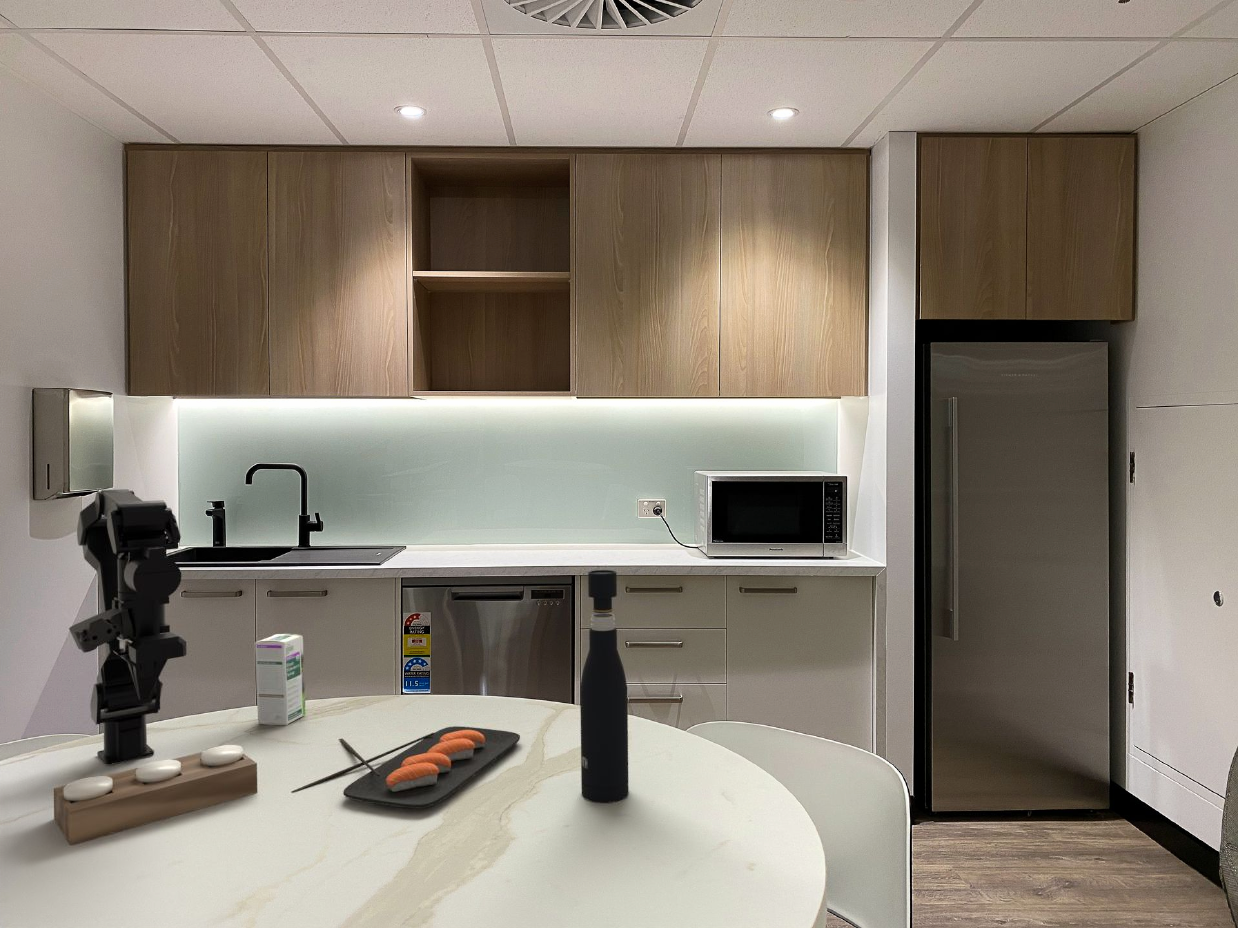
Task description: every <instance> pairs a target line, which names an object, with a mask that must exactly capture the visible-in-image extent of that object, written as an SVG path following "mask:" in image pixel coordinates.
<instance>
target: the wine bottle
mask: <svg viewBox="0 0 1238 928" xmlns="http://www.w3.org/2000/svg"><path fill="white" fill-rule="evenodd" d="M617 577H618V576H617V571H616V570H611V569H610V570H609V569H597V570H591V571H588V572H587V579H588V580H587V583H588V585H587V586H588V587H587V591H588V593H587V594H588V597H589V598H593V599H592V601H593V602H592V603H593V608H592V612H593V613H594V614H591V618H590V621H591V623H590V626H591V628H589V630H588V636H589V637H588V638H589V645H588V646H589V648H588V649H589V650H588V653H587V655H586V659H585V660H584V661H585V662H584V665H583V669H582V672H581V673H582V674H581V680H580V684H579V685H580V687H579V692H580V693H579V696H580V700H579V701H580V702H579V703H580V705H579V706H580V707H579V708H580V711H579V712H580V767H581V768H580V773H581V774H580V775H581V776H580V778H581V783H580V785H581V796H582V797H583V798H584V799H586V800H588V801H590V802H593V803H602V804H606V803H607V804H608V803H613V802H614V803H615V802H618V801H621V800H624V799H625V798H627V796H628V795H629V792H630V791H629V723H628V720H629V717H628V712H629V711H628V705H629V704H628V683H627V678H626V674H625V673H626V672H625V669H624V665H623V662H622V659H621V656H620V653H619V651H618V630H617V628H616V627H615V626H616V622H615V621H616V618H615V614H613V613H611V612H613V601H612V600H613V599H612V598H616V597H617V595H618V593H617V591H618V590H617V588H618V585H617V581H618V579H617Z"/></svg>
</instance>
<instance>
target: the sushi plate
mask: <svg viewBox="0 0 1238 928" xmlns="http://www.w3.org/2000/svg"><path fill="white" fill-rule="evenodd" d="M520 739H521V736H520V734H519V733H517V732H512V731H507V730H501V729H500V730H499V729H490V728H483V727H482V728H481V727H473V726H456V725H455V726H454V725H453V726H447V727H445V728H442V729H438V730H437V731H436V732H432V733H429V734H427V735H424V736H421V737H419V738H417V739H414V740H412V741H409V742H407V743H405V744H402V745H400V746H398V747H396V748H393V749H391V750H388V751H386V752H383V753H380V754H378V755H376V756H373V757H372V758H369V759H367V760H365V759H364V758H363V757H362V756H361V755H360V754H359V753H358V752H357V751H356V750H355V749H354V748H353V747H352V746H351V745H350V744H349V743H348V742H347V741H346V740H345V739H343V738H338V740H339V742H340V743H341V745H343V747H344V748H345V750H347V751H348V752H349V753H350V754H352V755H353V756H354V757H355V758H357V759H358V760H359V763H357V764H353V765H352V766H349V767H346V768H344V769H341V770H340V771H337V772H335V773H332V774H330V775H328V776H325V777H322V778H320V779H317V780H316V781H313V782H311V783H309V784H306V785H304V786H301V787H298V788H297V789H294V790H291V791H290V793H292V794H293V793H297V792H301V791H302V790H306V789H308V788H312V787H314V786H318V785H320V784H322V783H326V782H329V781H331V780H334V779H336V778H338V777H341V776H343V775H345V774H347V773H349V772H352V771H354V770H356V769H359V768H361V767H363V766H366V767H367V768H368V769H369V772H367V773H366V774H363V775H362V776H361V777H359V778H358V779H356V780H354V781H352V782H351V783H350V784H348V785H347V786H346V787H345V788H344V789H343V793H342V794H343V795H344V797H346V798H347V799H350V800H355V801H359V802H365V803H372V804H378V805H385V806H392V807H399V808H408V809H409V808H410V809H422V808H428V807H433V806H434V805H436V804H438V803H440V802H442V801H443V800H445V799H446V798H447V797H449V796H450V795H452V793H454V792H455V791H457V790H459V788H461V787H462V786H464V785H465V784H466V783H468V782H469V781H470V780H471V779H473V778H474V777H476V775H477V774H479V773H480V772H482V771H483V770H485V768H487V767H488V766H489V765H491V764H492V763H493V762H495V761H496V760H497V759H499V758H500V757H501V756H503V755H504V754H505V753H507V752H508V751H510V749H512V748H513V747H514V746H516V745H517V744H518V743H519V741H520ZM408 746H409V747H408ZM407 747H408V748H407ZM404 748H406V749H405V750H403V751H401V752H400V753H398V754H397V755H395V756H394V757H391V758H390V759H389V760H387V761H385V762H384V763H382V764H380V765H379V766H377V767H376V768H374V767H372V766H371V764H370V763H372V762H374V761H376V760H378V759H381V758H383V757H386V756H389V755H390V754H393V753H394V752H395V753H396V752H397V751H399V750H401V749H404Z"/></svg>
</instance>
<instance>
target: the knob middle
mask: <svg viewBox="0 0 1238 928" xmlns="http://www.w3.org/2000/svg"><path fill="white" fill-rule="evenodd" d="M136 768H137V770H136V780H137V781H139V782H143V784H144V785H146V784H150V783H154V782H158V781H163V780H167V779H170V778H173V777H175V776H177V775H178V774H179V773H180V772H181V763H180V762H179V761H177V760H172V759H164V760H155V761H152V762H148V763H146V764H143V765H141V766H139V768H138V767H136Z"/></svg>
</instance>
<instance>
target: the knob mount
mask: <svg viewBox="0 0 1238 928" xmlns="http://www.w3.org/2000/svg"><path fill="white" fill-rule="evenodd" d="M203 752H204V751H202V752H197V753H193V754H190V755H189V754H188V755H185V756H181V757H175V758H173V759H172V758H171V760H177V761H179V762H180V763H181V772H180V773H179V774H178V775H177V776H175V777H173V778H170V779H167V780H163V781H158V782H154V783H150V784H146V785H144V784H143V782H139V781H137V780H136V770H137V768H139V767H140V766H139V767H134V768H130V769H127V770H122V771H118V772H114V773H110V774H106V775H104V776H107V777H110V778H112V783H113V788H112V790H111V791H110V792H108V793H106V794H105V795H103V796H99V797H96V798H92V799H87V800H83V801H79V802H75V803H72V801H70V800H66V799H64V787H65V786H66V785H67V784H64V785H60V786H59V785H58V786H56V787H55V786H54V787H53V788H52V789H53V819H54V821H55V823H56V824H57V826H58V828H59V829H60V831H61V833H62V834H63V836H64V838H65V839H66V840H67V843H68V844H69V845H70V846H73V845H75V844H79V843H83V842H86V841H90V840H93V839H94V840H95V839H97V838H100V837H104V836H107V835H111V834H115V833H118V832H123V831H126V830H129V829H132V828H136V827H140V826H143V825H146V824H150V823H153V822H154V823H155V822H157V821H161V820H164V819H167V818H171V817H176V816H178V815H182V814H184V813H189V812H192V811H195V810H199V809H203V808H206V807H211V806H213V805H217V804H221V803H225V802H227V801H231V800H235V799H239V798H242V797H246V796H249V795H253V794H256V793H258V763H257V762H256V761H255V760H253V759H252V758H251V757H249V756H248V755H246V754H245V753H243V757H242V758H241V759H240V760H238V761H236V762H233V763H229V764H225V765H221V766H217V767H213V768H209V767H208V765H204V764H202V763H201V754H202V753H203Z"/></svg>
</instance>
